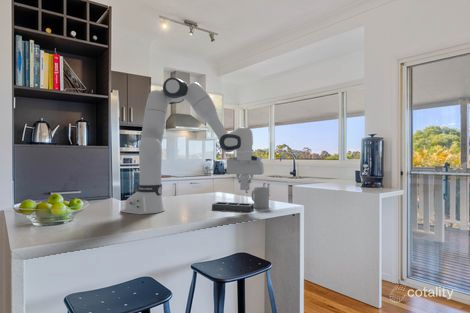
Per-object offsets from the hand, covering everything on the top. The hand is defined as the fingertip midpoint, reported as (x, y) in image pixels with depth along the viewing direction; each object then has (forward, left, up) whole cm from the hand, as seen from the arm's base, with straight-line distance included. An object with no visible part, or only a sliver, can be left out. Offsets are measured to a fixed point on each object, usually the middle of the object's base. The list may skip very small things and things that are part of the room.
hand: (244, 182), depth 161 cm
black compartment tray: (-7, 0, -15) cm, 16 cm away
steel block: (0, 0, -4) cm, 4 cm away
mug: (+5, +12, -15) cm, 20 cm away
